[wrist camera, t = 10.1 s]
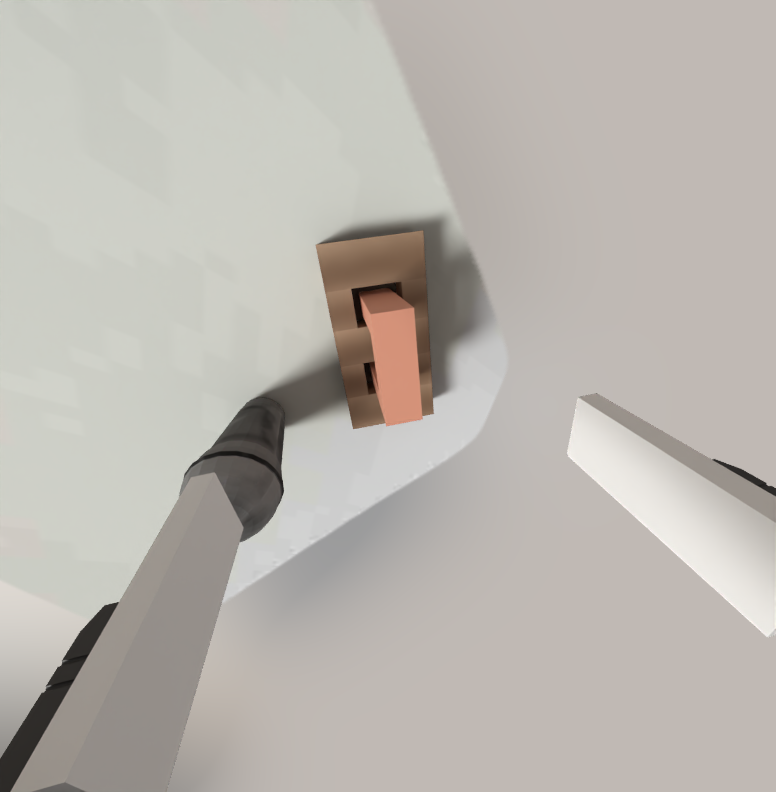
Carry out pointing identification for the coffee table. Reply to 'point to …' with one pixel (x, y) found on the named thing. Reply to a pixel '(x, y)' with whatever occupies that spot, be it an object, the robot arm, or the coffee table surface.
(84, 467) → the coffee table surface
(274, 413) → the beverage cup
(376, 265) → the slotted wooden board
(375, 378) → the block
